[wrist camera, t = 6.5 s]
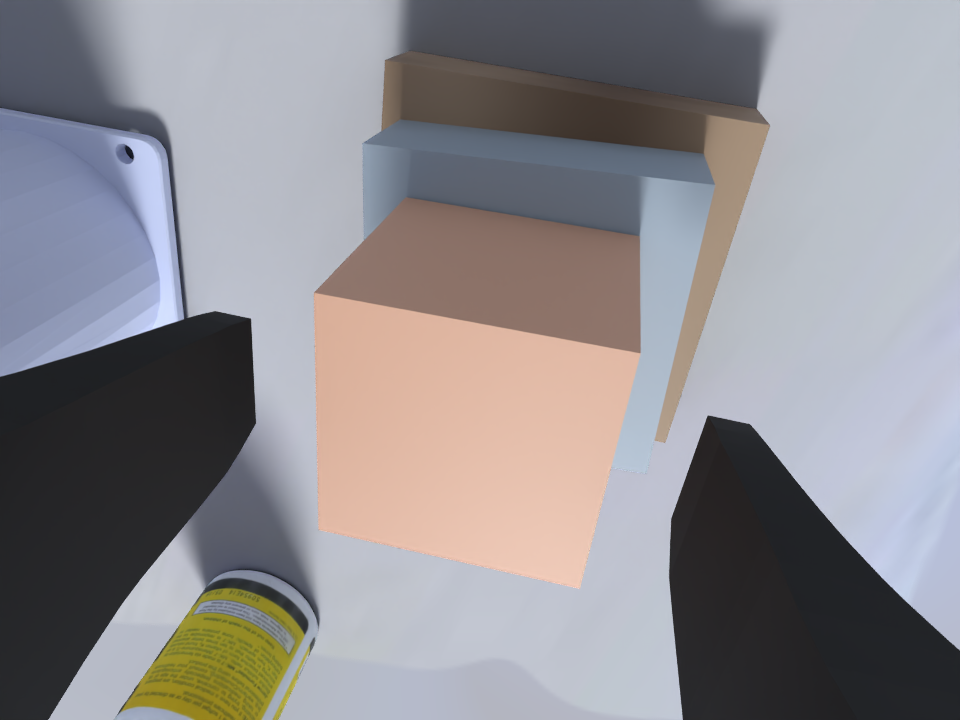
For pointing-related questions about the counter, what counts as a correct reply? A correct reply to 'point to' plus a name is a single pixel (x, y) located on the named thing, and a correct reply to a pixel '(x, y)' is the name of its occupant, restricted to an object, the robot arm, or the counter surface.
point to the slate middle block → (567, 220)
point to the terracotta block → (475, 386)
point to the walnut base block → (601, 118)
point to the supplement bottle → (230, 654)
